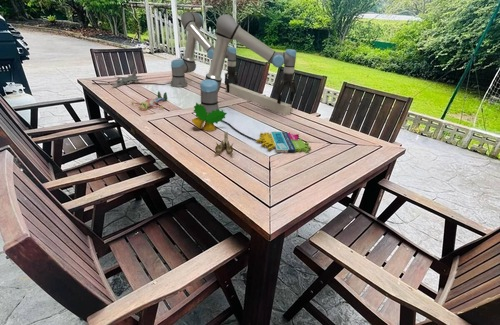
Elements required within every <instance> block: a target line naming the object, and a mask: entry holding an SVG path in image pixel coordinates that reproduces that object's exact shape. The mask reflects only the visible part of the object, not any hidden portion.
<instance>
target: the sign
mask: <svg viewBox="0 0 500 325" xmlns="http://www.w3.org/2000/svg"><path fill="white" fill-rule="evenodd" d="M299 136H300V135H299V134H298V133H296V134H294V133H291V132H287V131H270V132H264V133H263V132H260V133H259V139H258V138H257V139H256V140H257V141H255V142H256V143H257V144H261V148H263V147H264V148H265V149H267V151H268V152H271V151H272V150H273V149H275V152H276V153H283V154H285V153H287V154H288V153H290V154H293V153H296V152H298V153H301V152H305V153H310V151H311V150H312V149H311V148H312V146H309V142H304V141H303V139H302V138H299ZM260 142H263V143H260ZM270 145H272V146H270Z"/></svg>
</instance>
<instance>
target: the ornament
mask: <svg viewBox="0 0 500 325" xmlns="http://www.w3.org/2000/svg"><path fill="white" fill-rule="evenodd" d="M219 110H220V108H219V109H217V110H216V111H214V110H212V112H211V113H208V112H206V109H204V106H201V103H198V102H195V105H194V106H193V112H194V113H195V118H192V119H191V122H192V123H193V125H195V127H197V128H198V129H202V130H203V131H206V132H212V131H213V132H214V131H215V130H216V126H215V124H218V123H219V122H222V120H223V119H226V115H227V114H228V113H227V112H224V110H223V109H221V110H220V111H219ZM207 113H208V115H207ZM214 123H215V124H214ZM222 123H223V122H222Z"/></svg>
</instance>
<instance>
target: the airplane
mask: <svg viewBox="0 0 500 325" xmlns="http://www.w3.org/2000/svg"><path fill="white" fill-rule="evenodd" d="M127 76H128V77H127ZM127 76H126V77H122V76H113V78H117V79H116V84H112V86H111V87H110V89H111V88H118V87H120V86H123V85H131V84H130V83H139V81H145V79H143V78H142V77H143V75H142V76H141V75H137V68H134V70H133V72H132V74H128V75H127Z"/></svg>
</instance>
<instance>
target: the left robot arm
mask: <svg viewBox="0 0 500 325" xmlns="http://www.w3.org/2000/svg"><path fill="white" fill-rule="evenodd" d="M180 22H181V25H182V26H183V28H184V30H186V32H187V36H186V44H185V49H184V55H183V56H182V59H180V58H178V59H173V60H171V63H170V67H171V68H170V69H171V81H170V82H168V83H156V82H136V83H135V82H132V83H130V84H129V85H159V86H165V85H170V86H171V87H173V88H184V87H187V86H188V82H187V79H186V76H185V74H187V73H193V72H194V71H195V70H196V68H197V64H196V60H195V58H194V57H195V50H196V44H197V43H198V44H199V45H200V46H201V47H202V48H203V50H204V51H205V52H206V55H207V58H208V59H209V60H212V57H213V53H214V48H215V46H213V44H212V43H211V42H210V41H209V39H208V38H207V37H206V36H205V35H204V33H203V32H202V31H201V28H202V27H203V26H204V23H205V22H204V18H203V15H202V14H201V13H199V12H195V11H194V12H191V11H187V12H186V11H185V12H184V13H182V14H181V17H180ZM225 59H227V67H226V68H227V72H224V85H225V89H226V88H227V92H226V93H228V94H230V93H229V83H231V78H232V84H235V85H238V83H239V82H238V80H239V78H238V77H239V73H238V72H236V71H237V67H236V66H237V47H234V46H228V49H227V53H226V57H225ZM116 83H117V82H116ZM116 83H112V85H114V84H116ZM91 84H92V85H108V82H107V83H106V82H105V83H103V82H102V83H101V82H92V83H91Z"/></svg>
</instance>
